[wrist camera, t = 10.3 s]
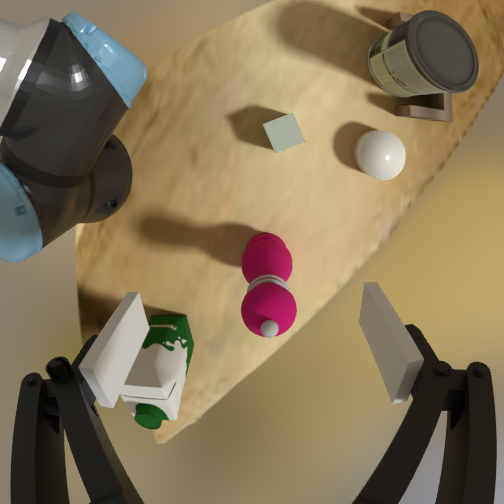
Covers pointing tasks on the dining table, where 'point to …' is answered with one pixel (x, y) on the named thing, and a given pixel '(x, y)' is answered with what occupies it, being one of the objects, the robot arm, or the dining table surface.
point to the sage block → (283, 132)
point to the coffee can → (424, 57)
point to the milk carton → (159, 371)
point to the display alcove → (436, 102)
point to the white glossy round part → (379, 154)
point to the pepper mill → (267, 286)
